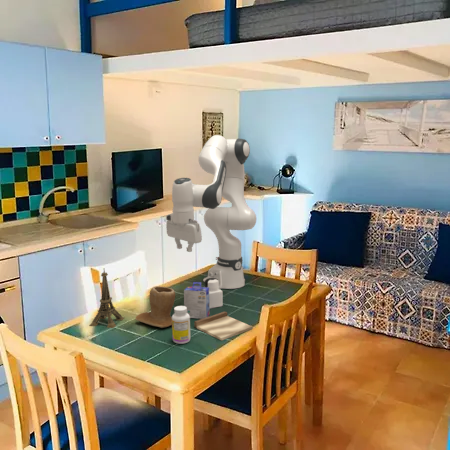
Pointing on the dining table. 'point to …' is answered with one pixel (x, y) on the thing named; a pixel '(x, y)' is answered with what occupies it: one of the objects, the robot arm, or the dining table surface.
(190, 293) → the ink cartridge box
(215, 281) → the medicine bottle
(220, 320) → the oak board
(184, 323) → the supplement bottle
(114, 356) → the dining table surface
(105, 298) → the eiffel tower
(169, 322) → the brown boot planter
